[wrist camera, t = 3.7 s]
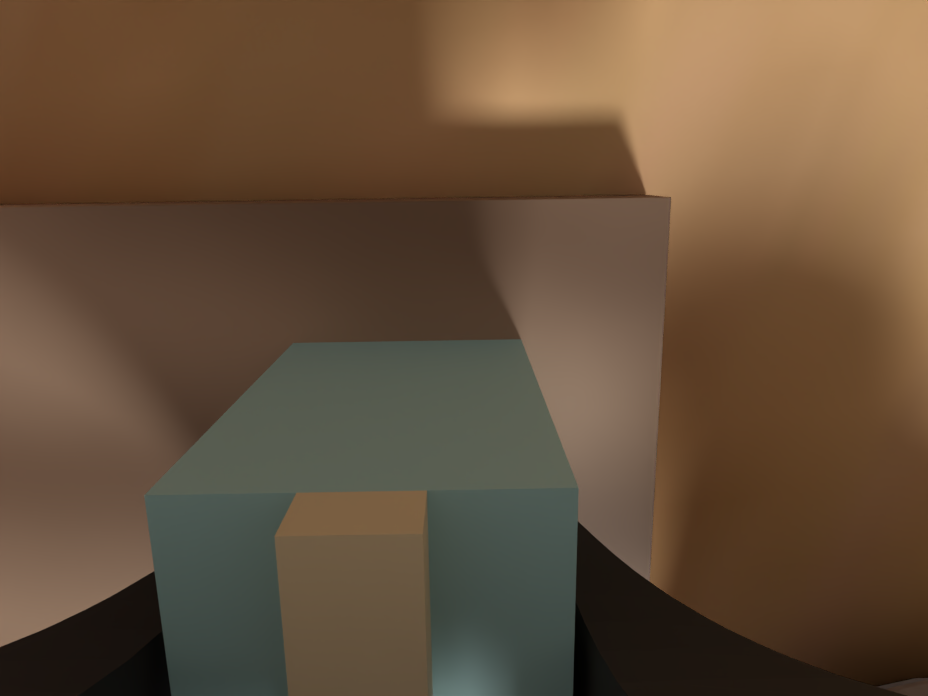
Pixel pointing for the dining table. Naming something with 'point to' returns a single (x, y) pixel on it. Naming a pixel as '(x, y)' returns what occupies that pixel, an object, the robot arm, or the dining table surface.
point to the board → (297, 321)
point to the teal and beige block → (373, 530)
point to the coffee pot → (909, 687)
